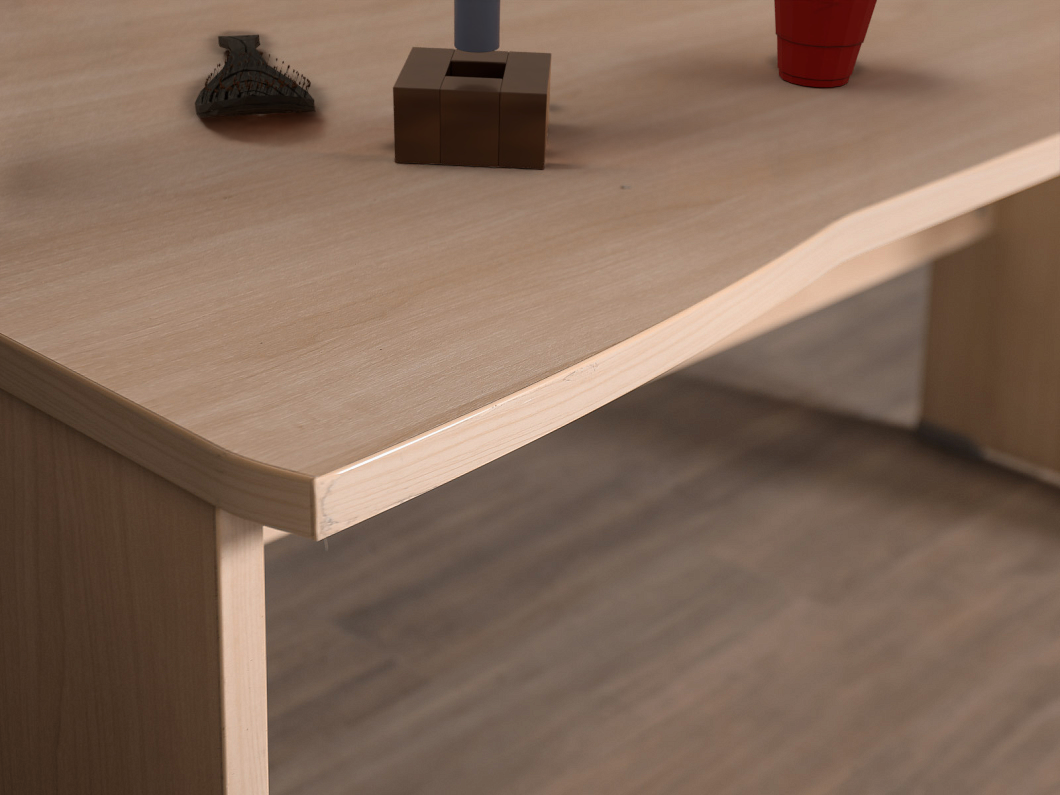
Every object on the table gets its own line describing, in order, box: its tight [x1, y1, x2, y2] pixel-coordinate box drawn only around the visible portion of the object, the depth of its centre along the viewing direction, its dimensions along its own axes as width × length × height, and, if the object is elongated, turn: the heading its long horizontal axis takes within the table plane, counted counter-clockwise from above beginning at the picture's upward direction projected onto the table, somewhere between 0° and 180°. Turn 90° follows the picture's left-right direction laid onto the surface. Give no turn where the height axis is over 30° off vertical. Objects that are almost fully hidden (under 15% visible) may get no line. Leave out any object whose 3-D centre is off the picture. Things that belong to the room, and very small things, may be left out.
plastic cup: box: [773, 0, 878, 88], centre depth 98 cm, size 11×11×12 cm
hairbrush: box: [194, 34, 316, 119], centre depth 92 cm, size 8×4×25 cm
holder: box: [392, 46, 552, 170], centre depth 83 cm, size 10×10×5 cm
